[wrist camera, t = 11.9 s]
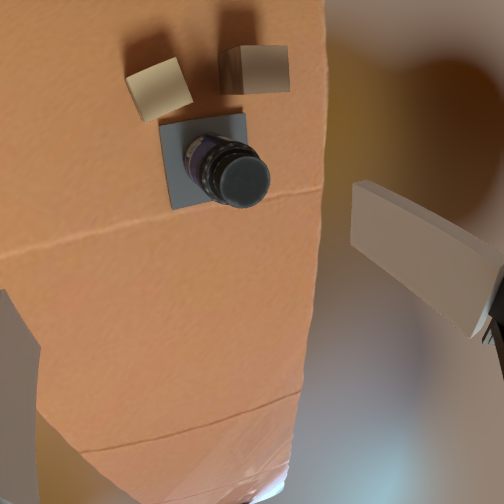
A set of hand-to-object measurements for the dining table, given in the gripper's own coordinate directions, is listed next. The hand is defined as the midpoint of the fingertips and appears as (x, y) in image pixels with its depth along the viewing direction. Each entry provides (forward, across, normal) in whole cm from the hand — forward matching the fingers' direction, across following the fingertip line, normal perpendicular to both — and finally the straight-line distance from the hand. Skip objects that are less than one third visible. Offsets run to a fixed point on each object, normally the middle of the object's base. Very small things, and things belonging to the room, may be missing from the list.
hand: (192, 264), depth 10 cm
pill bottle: (+26, +8, -4) cm, 27 cm away
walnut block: (+27, +13, +6) cm, 30 cm away
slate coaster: (+27, +7, -4) cm, 28 cm away
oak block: (+27, +3, +5) cm, 28 cm away
